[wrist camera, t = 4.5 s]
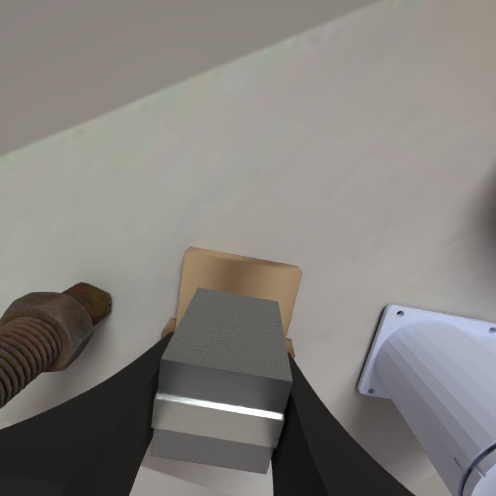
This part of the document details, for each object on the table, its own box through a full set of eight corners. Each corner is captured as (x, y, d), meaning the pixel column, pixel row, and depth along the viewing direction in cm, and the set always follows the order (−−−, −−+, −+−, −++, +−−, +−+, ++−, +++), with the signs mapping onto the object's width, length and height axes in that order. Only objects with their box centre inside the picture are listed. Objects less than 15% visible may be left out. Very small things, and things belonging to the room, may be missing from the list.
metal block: (279, 301, 12) (294, 384, 7) (263, 367, 13) (267, 478, 9) (196, 286, 12) (157, 361, 7) (187, 354, 13) (148, 458, 8)
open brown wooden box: (309, 268, 18) (315, 278, 16) (268, 425, 22) (270, 448, 20) (179, 244, 18) (170, 252, 16) (160, 406, 22) (151, 428, 20)
